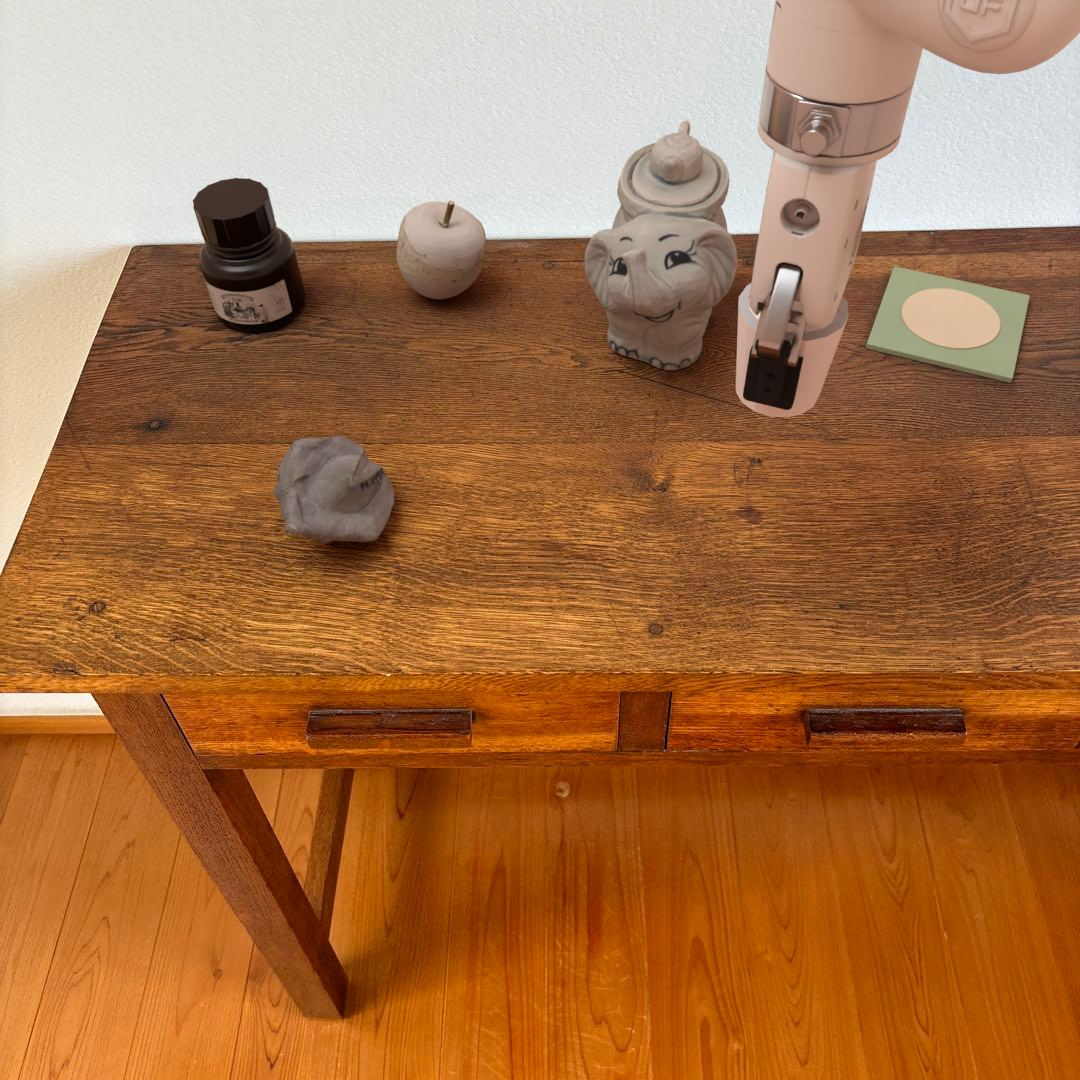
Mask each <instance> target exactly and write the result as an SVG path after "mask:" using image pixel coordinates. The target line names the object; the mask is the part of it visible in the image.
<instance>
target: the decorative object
mask: <svg viewBox="0 0 1080 1080" xmlns="http://www.w3.org/2000/svg"><path fill="white" fill-rule="evenodd" d="M485 232H486V231H485V227H484V226H483V224H482V222H481V220H479V219H478V218H477V217H476V216H475V215H474V214H472V213H471V212H470V211H468V210H467V209H465V208H463V207H461V206H459V205H456V202H455V201H454V200H448V202H446V201H427V202H424V203H421V204H419V205H416V206H414V207H412V208H411V209H410V210H408V211H407V213H405V214H404V216H403V218H402V220H401V222H400V225H399V231H398V236H397V247H396V253H395V255H396V263H397V266H398V269H399V272H400V274H401V275H402V277H403V279H404V280H405V282H406V283H407V284H408V286H409V287H410V288H411V289H412V290H413V291H414V292H416V293H417V294H419V295H421V296H422V297H426V298H429V299H432V300H433V299H434V300H446V299H450V298H454V297H456V296H458V295H460V294H462V293H464V292H465V291H466V290H467V289H468V288H470V286H471V285H472V284H473V283H474V282H476V280H477V278H478V277H479V275H480V274H481V270H482V267H483V263H484V258H485V254H486V249H487V235H486V233H485Z"/></svg>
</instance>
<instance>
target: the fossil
mask: <svg viewBox="0 0 1080 1080" xmlns="http://www.w3.org/2000/svg"><path fill="white" fill-rule="evenodd" d="M273 496H274V497H275V499H276V500H277V501H278V502H279V507H280V512H281V516H282V519H283V522H284V532H285V533H286V534H288V533H289V534H290V535H291V536H296V537H299V536H300V537H304V538H307V539H309V540H314V541H317V542H319V544H322V545H323V544H328V543H332V542H357V543H367V542H375V541H377V540H378V539H379V537H380V536H381V534H382V532H383V531H384V530H385V528H386V525H387V523H388V521H389V518H390V515H391V512H392V509H393V506H394V504H395V491H394V487H393V485H392V482H391V480H390V479H389V477H388V475H387V474H386V472H385V470H384V467H383V466H382V465H380V464H378V463H374V462H372V461H371V460H369V458H368V456H367V453H366V448H365V447H362V446H361V445H360V444H359V443H358V442H356V441H354V440H351V439H350V438H348V437H345V436H343V435H337V436H336V435H335V436H330V435H329V436H326V437H321V438H318V437H317V438H315V437H314V438H313V437H302V438H300V439H296V440H294V441H293V442H292V444H291V445H290V447H289V448H288V449H287V451H286V453H285V455H284V456H283V458H282V459H281V461H280V465H279V468H278V470H277V473H276V484H275V486H274V488H273Z"/></svg>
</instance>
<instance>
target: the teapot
mask: <svg viewBox="0 0 1080 1080" xmlns="http://www.w3.org/2000/svg"><path fill="white" fill-rule="evenodd" d="M690 133H691V123H690V121H689V120H683V121H682V122H680V124H679V127H678V131H677V132H673V133H669V134H666V135H663V136H661V137H660V138H659V139H657V141H656V142H654V143H651V144H648V145H645V146H643V147H641V148H639V149H637V150H636V151H634V152H633V153H632V154H631V155H630V156H629V157H628V158H627V160H626V162H625V164H624V165H623V167H622V170H621V173H620V176H619V180H618V182H617V189H616V193H617V197H618V201H619V204H620V206H619V208H618V210H617V212H616V214H615V217H614V220H613V224H612V226H611V228H606V229H602V230H599V231H597V232H595V233H594V234H592V236H591V237H590V239H589V241H588V243H587V245H586V248H585V252H584V271H585V275H586V278H587V280H588V283H589V285H590V286H591V288H592V290H593V292H594V294H595V296H596V298H597V300H598V301H599V303H600V305H601V306H602V308H603V309H605V310H606V318H607V322H608V328H607V333H606V339H607V342H608V346H609V347H610V348H611V350H612V351H613V352H615V353H616V354H618V355H621V356H623V357H628V358H632V359H635V360H638V361H641V362H645V363H647V364H650V365H652V366H653V367H655V368H658V369H662V370H666V371H677V370H681V369H683V368H687V367H689V366H691V365H692V364H693V363H695V362H696V361H697V360H698V358H699V357H700V355H701V353H702V349H703V336H704V334H705V333H706V330H707V326H708V323H709V319H710V318H711V316H712V312H713V308H715V306H717V305H718V304H719V303H720V302H721V301H722V300H723V298H724V297H725V296H726V295H727V294H728V293H729V291H730V289H731V287H732V285H733V283H734V279H735V276H736V271H737V267H738V252H737V245H736V242H735V240H734V239H733V237H732V235H731V234H730V232H729V231H728V223H727V218H726V216H725V212H724V210H723V207H722V206H723V205H724V204H725V202H726V198H727V196H728V193H729V188H730V172H729V169H728V166H727V165H726V163H725V162H724V161H723V159H722V157H720V156H719V155H717V154H716V153H715V152H713V151H712V150H711V149H709V148H707V147H705V146H702V145H701V144H700V142H699V140H698V139H697V138H695V137H693V136H692V135H691V134H690Z"/></svg>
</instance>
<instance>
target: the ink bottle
mask: <svg viewBox="0 0 1080 1080" xmlns="http://www.w3.org/2000/svg"><path fill="white" fill-rule="evenodd" d="M192 204H193V206H192V208H193V212H194V214H195V218H196V220H197V224H198V227H199V230H200V233H201V236H202V239H203V241H204V243H203V245H202V247H201V249H200V252H199V255H198V262H199V267H200V270H201V274H202V275H203V279H204V283H205V286H206V288H207V291H208V294H209V297H210V300H211V301H210V302H211V303H212V306H213V309H214V312H215V314H216V316H217V318H218V320H219V321H220V322H221V323H222V324H224V325H225V326H227V327H229V328H231V329H235V330H239V331H244V332H263V331H270V330H274V329H277V328H280V327H282V326H283V325H284V326H285V324H288V323H289V322H290V321H292V320H293V319H294V318H295V317H297V315H298V314H299V313H300V312H301V311H302V309H303V308H304V304H305V302H306V291H305V286H304V282H303V279H302V274H301V270H300V265H299V262H298V258H297V253H296V250H295V246H294V243H293V241H292V239H291V237H290V235H289V234H288V233H287V232H285V230H283V229H281V228H280V227H278V226H277V221H276V219H275V218H276V217H275V213H274V210H273V205H272V200H271V197H270V194H269V189H268V188H267V187H266V186H265V185H264V184H263V183H262V182H261V181H257V180H255V179H251V178H243V177H242V178H241V177H233V178H228V179H220V180H218V181H216V182H213V183H210V184H207V185H206V186H205V187H204V188H202V189H200V190H199V191H198V192H196V195H195V197H194V198H193V199H192Z"/></svg>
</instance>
